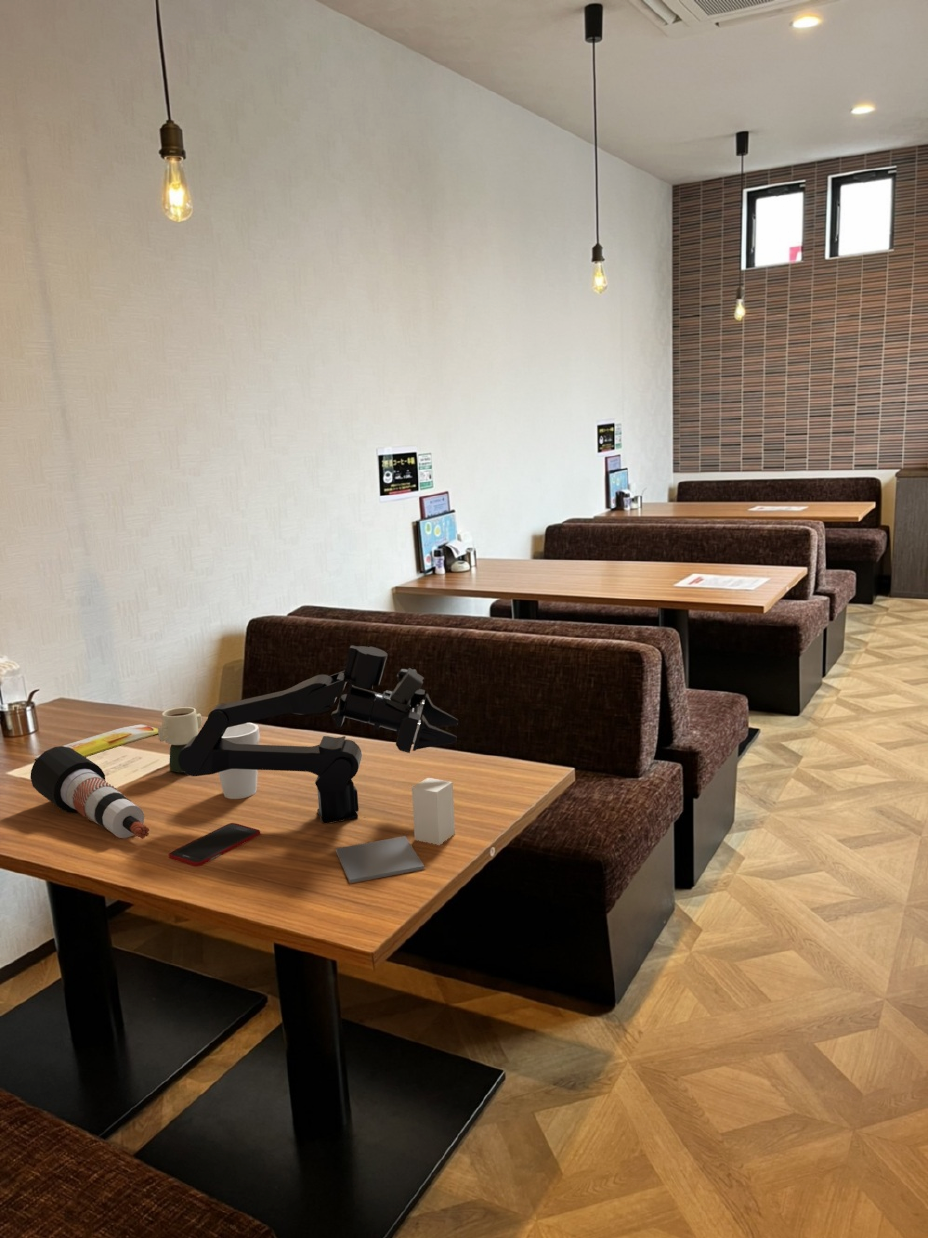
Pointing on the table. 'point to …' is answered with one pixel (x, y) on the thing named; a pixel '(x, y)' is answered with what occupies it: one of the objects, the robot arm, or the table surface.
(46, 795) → the cable
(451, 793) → the cream block
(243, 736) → the foam cup
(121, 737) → the food package
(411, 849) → the slate coaster
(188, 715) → the character mug
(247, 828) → the cell phone
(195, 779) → the table surface
